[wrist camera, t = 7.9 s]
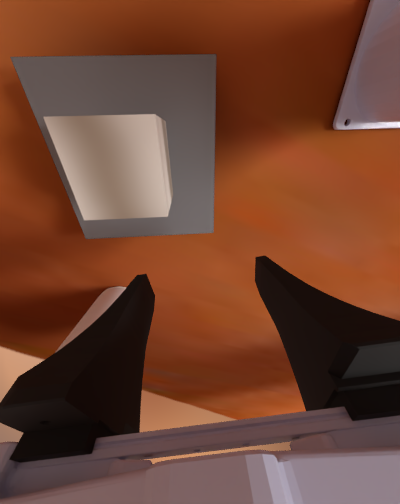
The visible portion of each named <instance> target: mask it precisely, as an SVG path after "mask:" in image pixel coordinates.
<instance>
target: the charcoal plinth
mask: <svg viewBox="0 0 400 504" xmlns="http://www.w3.org/2000/svg"><path fill="white" fill-rule="evenodd" d="M11 60H12V62H13V65H14V67H15V69H16V72H17V74H18V77H19V79H20V81H21V84H22V86H23V89H24V91H25V93H26V96H27V98H28V101H29V103H30V105H31V108H32V110H33V113H34V115H35V117H36V120H37V122H38V125H39V127H40V129H41V132H42V134H43V137H44V139H45V141H46V144H47V146H48V149H49V151H50V154H51V156H52V158H53V161H54V163H55V166H56V168H57V170H58V173H59V175H60V178H61V180H62V182H63V185H64V187H65V190H66V192H67V194H68V197H69V199H70V202H71V204H72V206H73V209H74V211H75V214H76V216H77V218H78V221H79V223H80V226H81V228H82V230H83V233H84V235H85V238H86V239H96V238H117V237H137V236H157V235H177V234H197V233H213V230H214V170H215V110H216V54H185V55H113V56H41V57H11ZM137 114H155V115H157V116H159V117H160V118H162V119H163V120H165V121H166V130H167V139H168V149H169V159H170V169H171V178H172V188H173V197H172V201H171V205H170V210H169V214H168V217H149V218H127V219H104V220H84V219H83V216H82V214H81V211H80V209H79V206H78V204H77V201H76V199H75V196H74V194H73V191H72V189H71V186H70V184H69V181H68V179H67V176H66V173H65V171H64V168H63V166H62V163H61V161H60V158H59V156H58V153H57V151H56V148H55V146H54V143H53V141H52V138H51V136H50V133H49V130H48V128H47V125H46V123H45V120H44V118H43V117H53V116H95V115H137Z"/></svg>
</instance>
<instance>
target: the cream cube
mask: <svg viewBox="0 0 400 504" xmlns="http://www.w3.org/2000/svg"><path fill="white" fill-rule="evenodd" d="M43 118H44V120H45V123H46V125H47V128H48V130H49V133H50V136H51V138H52V141H53V143H54V146H55V148H56V151H57V153H58V156H59V158H60V161H61V163H62V166H63V168H64V171H65V173H66V176H67V179H68V181H69V184H70V186H71V189H72V191H73V194H74V196H75V199H76V201H77V204H78V206H79V209H80V211H81V214H82V216H83V219H84V220H104V219H127V218H149V217H168V214H169V210H170V205H171V201H172V197H173V188H172V178H171V169H170V159H169V149H168V139H167V130H166V121H165V120H163V119H162V118H160V117H159V116H157V115H155V114H137V115H95V116H53V117H43Z"/></svg>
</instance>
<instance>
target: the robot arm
mask: <svg viewBox="0 0 400 504" xmlns="http://www.w3.org/2000/svg"><path fill="white" fill-rule="evenodd" d="M345 120H347V124H346V125H344V122H345ZM333 128H334V129H335V130H348V129H381V128H400V0H370V3H369V7H368V10H367V13H366V16H365V20H364V23H363V26H362V30H361V33H360V36H359V39H358V43H357V46H356V49H355V53H354V56H353V59H352V63H351V66H350V69H349V72H348V76H347V79H346V82H345V86H344V89H343V92H342V95H341V99H340V102H339V105H338V109H337V112H336V115H335V118H334V122H333ZM255 282H256V285H257V288H258V291H259V293H260V296H261V298H262V300H263V302H264V304H265V306H266V308H267V310H268V312H269V314H270V315H271V317H272V319H273V321H274V323H275V325H276V328H277V330H278V332H279V335H280V337H281V340H282V342H283V345H284V348H285V350H286V353H287V356H288V358H289V361H290V364H291V367H292V369H293V372H294V375H295V378H296V381H297V384H298V387H299V390H300V393H301V396H302V399H303V402H304V405H305V409H306V411H305V412H297V413H289V414H282V415H274V416H266V417H258V418H250V419H242V420H235V421H227V422H219V423H211V424H203V425H195V426H188V427H180V428H172V429H164V430H156V431H148V432H141V433H139V428H140V406H141V391H142V378H143V368H144V359H145V350H146V344H147V339H148V335H149V330H150V326H151V321H152V317H153V312H154V303H155V295H154V292H153V290H152V287H151V285H150V282H149V280H148V277H147V275H146V274H142V275H137V276H136V277H135V278H134V279H133V281H132V282H131V283H130V284H129V285H128V287H127V288H126V289H125V290H124V291H123V292H122V294H121V295H120V296H119V297H118V298H117V299H116V300H115V301H114V302H113V304H112V305H111V306H110V307H109V308H108V309H107V310H106V311H105V312H104V313H103V314H102V315H101V316H100V317H99V318H98V319H97V320H96V321H95V322H93V323H92V324H91V325H90V326H89V327H88V328H87V329H85V330H84V331H83V332H82V333H80V334H79V335H78V336H77V337H76V338H74V339H73V340H72V341H71V342H69V343H68V344H67V345H65V346H64V347H63V348H61V349H60V350H58V351H57V352H56V353H54V354H53V355H51V356H50V357H48V358H47V359H45V360H44V361H42V362H41V363H39V364H38V365H37V366H35V367H33V368H32V369H30V370H29V371H27V372H25V373H24V374H22V375H21V376H19V377H18V378H17V380H16V381H15V383H14V384H13V385H12V387H11V388H10V390H9V391H8V393H7V394H6V395H5V397H4V398H3V400H2V401H1V403H0V423H2V424H5V425H7V426H9V427H12V428H14V429H16V430H18V431H21V432H23V435H22V437H21V439H20V441H19V442H3V443H0V504H400V321H398V320H395V319H392V318H388V317H385V316H382V315H379V314H376V313H373V312H370V311H367V310H364V309H362V308H359V307H356V306H354V305H351V304H349V303H346V302H344V301H341V300H339V299H337V298H334V297H332V296H330V295H328V294H326V293H324V292H322V291H320V290H318V289H316V288H314V287H312V286H310V285H308V284H307V283H305V282H303V281H302V280H300V279H298V278H297V277H295V276H293V275H292V274H290V273H289V272H287V271H286V270H284V269H283V268H282V267H280V266H279V265H277V264H276V263H275V262H273V261H272V260H271V259H269V258H268V257H266V256H260V257H256V266H255ZM290 441H292V442H291V443H290V447H291V450H289V451H266V450H246V451H237V452H229V453H221V454H212V455H204V456H196V457H188V458H180V459H173V460H166V461H161V462H157V463H155V464H152V462H151V461H150V460H144V459H152V458H159V457H168V456H176V455H184V454H192V453H201V452H208V451H217V450H225V449H232V448H241V447H249V446H257V445H266V444H274V443H282V442H290Z"/></svg>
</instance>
